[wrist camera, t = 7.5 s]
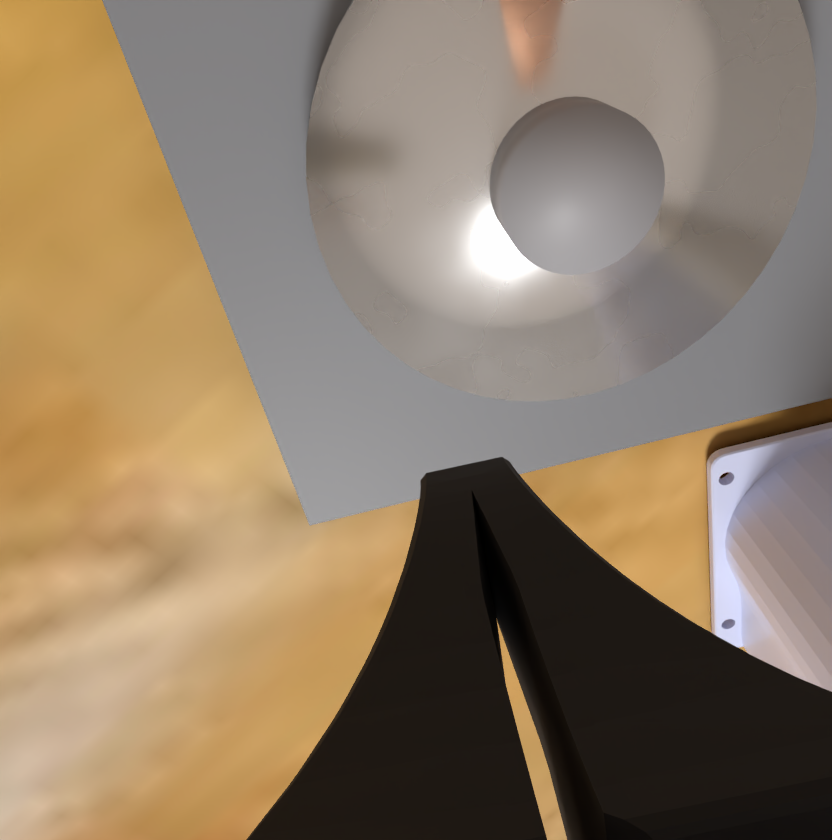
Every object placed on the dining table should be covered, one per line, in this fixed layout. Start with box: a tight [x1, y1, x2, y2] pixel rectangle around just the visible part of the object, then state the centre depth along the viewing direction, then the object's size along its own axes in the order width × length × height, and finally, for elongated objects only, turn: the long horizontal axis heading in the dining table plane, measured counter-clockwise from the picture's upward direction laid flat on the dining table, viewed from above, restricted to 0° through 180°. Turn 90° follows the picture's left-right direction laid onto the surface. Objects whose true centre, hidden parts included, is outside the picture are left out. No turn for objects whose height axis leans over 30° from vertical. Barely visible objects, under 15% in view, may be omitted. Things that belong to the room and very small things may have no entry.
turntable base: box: [102, 0, 832, 525], centre depth 18 cm, size 18×18×4 cm
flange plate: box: [306, 0, 817, 401], centre depth 16 cm, size 12×15×4 cm
